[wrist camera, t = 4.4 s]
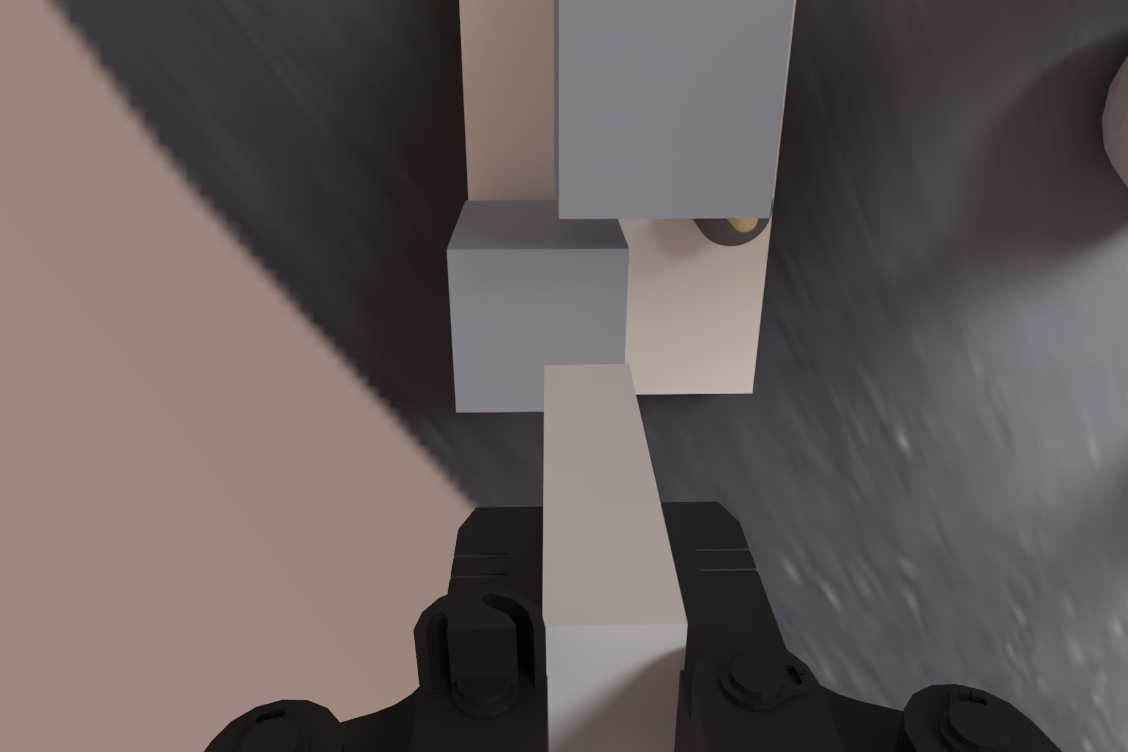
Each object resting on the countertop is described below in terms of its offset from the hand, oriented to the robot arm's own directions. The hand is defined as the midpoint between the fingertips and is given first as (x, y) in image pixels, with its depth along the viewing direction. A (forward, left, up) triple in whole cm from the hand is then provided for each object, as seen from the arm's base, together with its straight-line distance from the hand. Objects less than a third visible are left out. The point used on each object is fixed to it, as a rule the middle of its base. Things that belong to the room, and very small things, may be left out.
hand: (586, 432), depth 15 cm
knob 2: (-2, -5, -12) cm, 13 cm away
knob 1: (+1, +1, -15) cm, 15 cm away
